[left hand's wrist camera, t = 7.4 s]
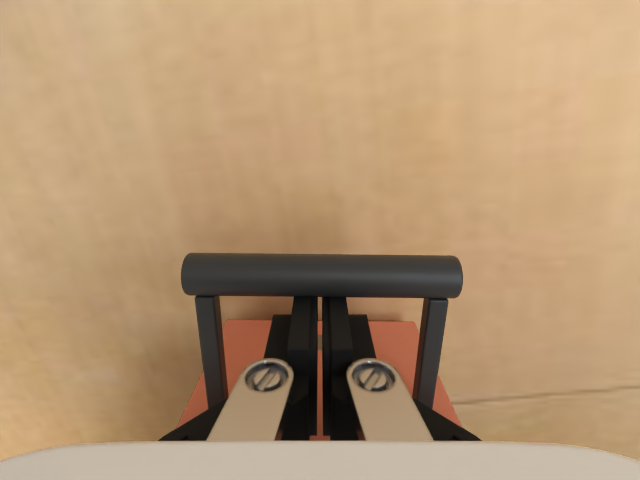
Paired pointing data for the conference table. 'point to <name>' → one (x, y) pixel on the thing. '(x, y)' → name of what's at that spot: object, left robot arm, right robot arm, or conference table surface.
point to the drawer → (320, 281)
